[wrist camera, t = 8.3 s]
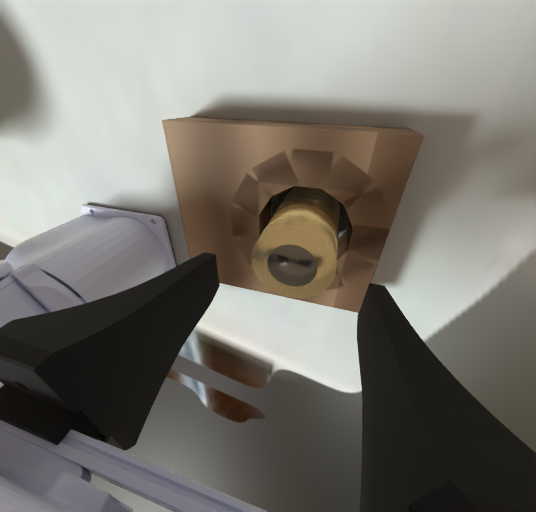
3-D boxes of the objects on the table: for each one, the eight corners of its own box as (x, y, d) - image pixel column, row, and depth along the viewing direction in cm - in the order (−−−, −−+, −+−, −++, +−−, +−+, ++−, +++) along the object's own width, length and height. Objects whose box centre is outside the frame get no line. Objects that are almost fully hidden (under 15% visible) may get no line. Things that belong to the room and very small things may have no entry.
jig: (209, 258, 23) (193, 277, 21) (189, 116, 16) (162, 120, 14) (358, 287, 20) (359, 312, 18) (410, 128, 13) (423, 135, 11)
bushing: (280, 235, 19) (253, 291, 14) (281, 181, 17) (248, 223, 11) (335, 241, 18) (330, 305, 13) (344, 185, 16) (342, 233, 10)
